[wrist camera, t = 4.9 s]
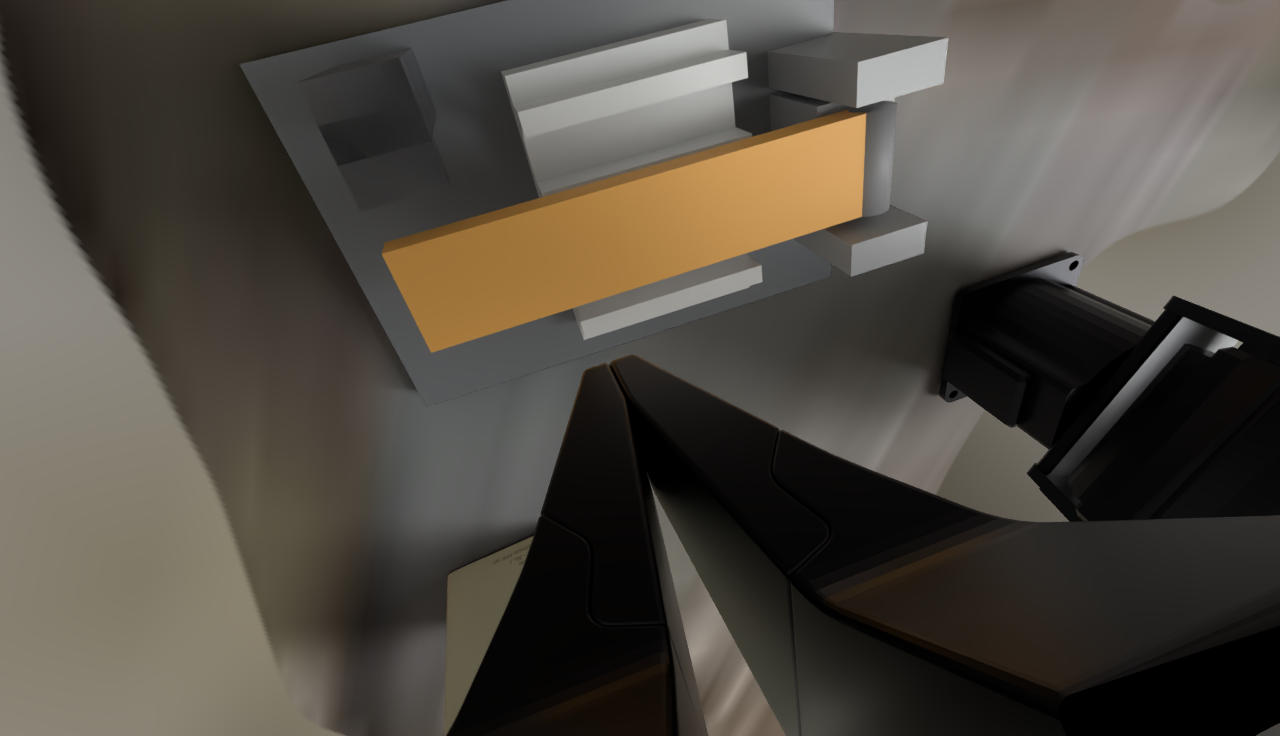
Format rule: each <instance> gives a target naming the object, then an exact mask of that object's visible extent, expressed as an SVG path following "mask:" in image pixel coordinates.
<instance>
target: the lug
mask: <svg viewBox="0 0 1280 736" xmlns="http://www.w3.org/2000/svg"><path fill="white" fill-rule="evenodd" d="M296 84H297V86H298V88H299V90H300V92H301V94H302V96H303V98H304V100H305V102H306V104H307V106H308V108H309V110H310V112H311V114H312V116H313V118H314V120H315V122H316V124H317V126H318V128H319V130H320V132H321V134H322V136H323V138H324V140H325V142H326V144H327V146H328V148H329V150H330V152H331V154H332V156H333V158H334V160H335V162H336V164H337V166H338V168H339V170H340V172H341V174H342V176H343V178H344V180H345V182H346V184H347V186H348V188H349V190H350V192H351V194H352V196H353V198H354V200H355V202H356V204H357V206H358V208H359V210H360V212H362V211H366V210H369V209H373V208H377V207H380V206H384V205H388V204H391V203H395V202H398V201H402V200H406V199H409V198H413V197H416V196H420V195H424V194H427V193H431V192H435V191H438V190H442V189H445V188H449V187H450V178H449V175H448V173H447V170H446V168H445V165H444V162H443V160H442V157H441V155H440V152H439V150H438V147H437V144H436V142H435V139H434V137H433V132H434V127H435V121H436V116H437V113H436V110H435V108H434V105H433V102H432V100H431V97H430V95H429V92H428V89H427V87H426V84H425V81H424V79H423V76H422V73H421V71H420V68H419V66H418V63H417V60H416V58H415V55H414V52H413V50H412V48H409V49H404V50H400V51H396V52H392V53H388V54H384V55H380V56H376V57H372V58H367V59H363V60H359V61H355V62H351V63H347V64H343V65H339V66H335V67H332V68H329V69H327V70H325V71H322V72H320V73H318V74H315V75H313V76H311V77H308V78H306V79H304V80H301V81H299V82H297V83H296Z"/></svg>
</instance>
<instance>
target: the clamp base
mask: <svg viewBox="0 0 1280 736" xmlns="http://www.w3.org/2000/svg"><path fill="white" fill-rule="evenodd" d="M833 14H834V0H507V1H503V2H498V3H494V4H490V5H486V6H482V7H477V8H473V9H469V10H465V11H461V12H456V13H452V14H448V15H444V16H440V17H436V18H431V19H427V20H423V21H419V22H415V23H410V24H406V25H402V26H398V27H394V28H389V29H385V30H381V31H377V32H373V33H368V34H364V35H360V36H356V37H352V38H347V39H343V40H339V41H335V42H331V43H326V44H322V45H318V46H314V47H310V48H306V49H301V50H297V51H293V52H289V53H285V54H280V55H276V56H272V57H268V58H264V59H259V60H255V61H251V62H247V63H243V64H239V65H240V67H241V68H242V70H243V72H244V74H245V76H246V78H247V79H248V81H249V83H250V85H251V87H252V89H253V90H254V92H255V94H256V96H257V98H258V100H259V101H260V103H261V105H262V107H263V109H264V111H265V112H266V114H267V116H268V118H269V120H270V122H271V123H272V125H273V127H274V129H275V131H276V133H277V134H278V136H279V138H280V140H281V142H282V144H283V145H284V147H285V149H286V151H287V153H288V155H289V156H290V158H291V160H292V162H293V164H294V166H295V167H296V169H297V171H298V173H299V175H300V177H301V178H302V180H303V182H304V184H305V186H306V187H307V189H308V191H309V193H310V195H311V197H312V198H313V200H314V202H315V204H316V206H317V208H318V209H319V211H320V213H321V215H322V217H323V219H324V220H325V222H326V224H327V226H328V228H329V230H330V231H331V233H332V235H333V237H334V239H335V241H336V242H337V244H338V246H339V248H340V250H341V252H342V253H343V255H344V257H345V259H346V261H347V263H348V264H349V266H350V268H351V270H352V272H353V274H354V275H355V277H356V279H357V281H358V283H359V285H360V286H361V288H362V290H363V292H364V294H365V295H366V297H367V299H368V301H369V303H370V305H371V306H372V308H373V310H374V312H375V314H376V316H377V317H378V319H379V321H380V323H381V325H382V327H383V328H384V330H385V332H386V334H387V336H388V338H389V339H390V341H391V343H392V345H393V347H394V349H395V350H396V352H397V354H398V356H399V358H400V360H401V361H402V363H403V365H404V367H405V369H406V371H407V372H408V374H409V376H410V378H411V380H412V382H413V383H414V385H415V387H416V389H417V391H418V393H419V394H420V396H421V398H422V400H423V402H424V404H425V405H426V407H428V406H432V405H435V404H438V403H441V402H444V401H447V400H450V399H453V398H456V397H460V396H463V395H466V394H469V393H472V392H475V391H478V390H481V389H484V388H487V387H491V386H494V385H497V384H500V383H503V382H506V381H509V380H512V379H515V378H518V377H522V376H525V375H528V374H531V373H534V372H537V371H540V370H543V369H546V368H550V367H553V366H556V365H559V364H562V363H565V362H568V361H571V360H574V359H577V358H581V357H584V356H587V355H590V354H593V353H596V352H599V351H602V350H605V349H608V348H612V347H615V346H618V345H621V344H624V343H627V342H630V341H633V340H636V339H639V338H643V337H646V336H649V335H652V334H655V333H658V332H661V331H664V330H667V329H671V328H674V327H677V326H680V325H683V324H686V323H689V322H692V321H695V320H698V319H702V318H705V317H708V316H711V315H714V314H717V313H720V312H723V311H726V310H729V309H733V308H736V307H739V306H742V305H745V304H748V303H751V302H754V301H757V300H760V299H764V298H767V297H770V296H773V295H776V294H779V293H782V292H785V291H788V290H792V289H795V288H798V287H801V286H804V285H807V284H810V283H813V282H816V281H819V280H823V279H826V278H829V277H831V264H832V265H834V266H835V267H837V268H838V269H840V270H841V271H843V272H844V273H846V274H847V275H849V276H850V277H852V276H855V275H859V274H862V273H865V272H868V271H871V270H874V269H877V268H880V267H883V266H886V265H889V264H893V263H896V262H899V261H902V260H905V259H908V258H911V257H914V256H917V255H920V254H923V253H924V247H925V238H926V230H927V221H926V220H923V219H921V218H919V217H916V216H914V215H912V214H910V213H907V212H905V211H903V210H900V209H898V208H896V207H894V206H891V205H890V206H889V210H888V211H886V212H885V213H882V214H880V215H876V216H869V217H859V218H856V219H853V220H850V221H847V222H844V223H840V224H837V225H834V226H831V227H828V228H825V229H821V230H818V231H815V232H812V233H809V234H806V235H802V236H799V237H796V238H793V239H790V240H787V241H783V242H780V243H777V244H774V245H771V246H768V247H765V248H761V249H758V250H755V251H752V252H749V253H746V254H742V255H739V256H736V257H733V258H730V259H727V260H723V261H720V262H717V263H714V264H711V265H708V266H704V267H701V268H698V269H695V270H692V271H689V272H685V273H682V274H679V275H676V276H673V277H670V278H666V279H663V280H660V281H657V282H654V283H651V284H647V285H644V286H641V287H638V288H635V289H632V290H629V291H625V292H622V293H619V294H616V295H613V296H610V297H606V298H603V299H600V300H597V301H594V302H591V303H587V304H584V305H581V306H578V307H575V308H572V309H568V310H565V311H562V312H559V313H556V314H553V315H549V316H546V317H543V318H540V319H537V320H534V321H530V322H527V323H524V324H521V325H518V326H515V327H511V328H508V329H505V330H502V331H499V332H496V333H492V334H489V335H486V336H483V337H480V338H477V339H474V340H470V341H467V342H464V343H461V344H458V345H455V346H451V347H448V348H445V349H442V350H439V351H436V352H432V353H431V351H430V349H429V347H428V346H427V344H426V342H425V340H424V338H423V336H422V334H421V332H420V330H419V328H418V326H417V324H416V322H415V320H414V318H413V316H412V314H411V312H410V310H409V308H408V306H407V304H406V302H405V300H404V298H403V296H402V294H401V292H400V290H399V288H398V286H397V284H396V282H395V280H394V278H393V276H392V274H391V272H390V270H389V268H388V266H387V264H386V262H385V260H384V258H383V256H382V251H383V247H384V243H385V242H388V241H392V240H395V239H399V238H402V237H406V236H409V235H413V234H416V233H420V232H423V231H427V230H430V229H433V228H437V227H440V226H444V225H447V224H451V223H454V222H458V221H461V220H465V219H468V218H472V217H475V216H479V215H482V214H486V213H489V212H493V211H496V210H500V209H503V208H507V207H510V206H514V205H517V204H520V203H524V202H527V201H531V200H534V199H538V198H541V197H545V196H548V195H552V194H555V193H559V192H562V191H566V190H569V189H573V188H576V187H580V186H583V185H587V184H590V183H594V182H597V181H601V180H604V179H607V178H611V177H614V176H618V175H621V174H625V173H628V172H632V171H635V170H639V169H642V168H646V167H649V166H653V165H656V164H660V163H663V162H667V161H670V160H674V159H677V158H681V157H684V156H687V155H691V154H694V153H698V152H701V151H705V150H708V149H712V148H715V147H719V146H722V145H726V144H729V143H733V142H736V141H740V140H743V139H747V138H750V137H754V136H757V135H761V134H764V133H768V132H771V131H774V130H778V129H781V128H785V127H788V126H792V125H795V124H799V123H802V122H806V121H809V120H813V119H816V118H820V117H823V116H827V115H830V114H834V113H837V112H841V111H844V110H848V109H849V108H850V107H854V108H859V107H862V106H866V105H869V104H873V103H877V102H880V101H893V102H895V97H898V96H901V95H905V94H908V93H912V92H915V91H919V90H922V89H926V88H929V87H933V86H936V85H940V84H943V82H944V73H945V64H946V56H947V47H948V37H926V36H905V35H883V34H861V33H840V32H833ZM409 48H412V50H413V52H414V55H415V58H416V60H417V63H418V66H419V68H420V71H421V73H422V76H423V79H424V81H425V84H426V87H427V89H428V92H429V95H430V97H431V100H432V102H433V105H434V108H435V110H436V113H437V116H436V121H435V127H434V132H433V137H434V139H435V142H436V144H437V147H438V150H439V152H440V155H441V157H442V160H443V162H444V165H445V168H446V170H447V173H448V175H449V178H450V187H449V188H445V189H442V190H438V191H435V192H431V193H427V194H424V195H420V196H416V197H413V198H409V199H406V200H402V201H398V202H395V203H391V204H388V205H384V206H380V207H377V208H373V209H369V210H366V211H362V212H360V210H359V208H358V206H357V204H356V202H355V200H354V198H353V196H352V194H351V192H350V190H349V188H348V186H347V184H346V182H345V180H344V178H343V176H342V174H341V172H340V170H339V168H338V166H337V164H336V162H335V160H334V158H333V156H332V154H331V152H330V150H329V148H328V146H327V144H326V142H325V140H324V138H323V136H322V134H321V132H320V130H319V128H318V126H317V124H316V122H315V120H314V118H313V116H312V114H311V112H310V110H309V108H308V106H307V104H306V102H305V100H304V98H303V96H302V94H301V92H300V90H299V88H298V86H297V84H296V83H297V82H299V81H301V80H304V79H306V78H308V77H311V76H313V75H315V74H318V73H320V72H322V71H325V70H327V69H329V68H332V67H335V66H339V65H343V64H347V63H351V62H355V61H359V60H363V59H367V58H372V57H376V56H380V55H384V54H388V53H392V52H396V51H400V50H404V49H409Z"/></svg>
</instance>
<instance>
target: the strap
mask: <svg viewBox="0 0 1280 736" xmlns="http://www.w3.org/2000/svg"><path fill="white" fill-rule="evenodd" d="M896 109H897V103H896V102H893V101H880V102H877V103H873V104H869V105H866V106H862V107H859V108H854V107H850V108H849V109H848V110H844V111H841V112H837V113H834V114H830V115H827V116H823V117H820V118H816V119H813V120H809V121H806V122H802V123H799V124H795V125H792V126H788V127H785V128H781V129H778V130H774V131H771V132H768V133H764V134H761V135H757V136H754V137H750V138H747V139H743V140H740V141H736V142H733V143H729V144H726V145H722V146H719V147H715V148H712V149H708V150H705V151H701V152H698V153H694V154H691V155H687V156H684V157H681V158H677V159H674V160H670V161H667V162H663V163H660V164H656V165H653V166H649V167H646V168H642V169H639V170H635V171H632V172H628V173H625V174H621V175H618V176H614V177H611V178H607V179H604V180H601V181H597V182H594V183H590V184H587V185H583V186H580V187H576V188H573V189H569V190H566V191H562V192H559V193H555V194H552V195H548V196H545V197H541V198H538V199H534V200H531V201H527V202H524V203H520V204H517V205H514V206H510V207H507V208H503V209H500V210H496V211H493V212H489V213H486V214H482V215H479V216H475V217H472V218H468V219H465V220H461V221H458V222H454V223H451V224H447V225H444V226H440V227H437V228H433V229H430V230H427V231H423V232H420V233H416V234H413V235H409V236H406V237H402V238H399V239H395V240H392V241H388V242H385V243H384V247H383V251H382V256H383V258H384V260H385V262H386V264H387V266H388V268H389V270H390V272H391V274H392V276H393V278H394V280H395V282H396V284H397V286H398V288H399V290H400V292H401V294H402V296H403V298H404V300H405V302H406V304H407V306H408V308H409V310H410V312H411V314H412V316H413V318H414V320H415V322H416V324H417V326H418V328H419V330H420V332H421V334H422V336H423V338H424V340H425V342H426V344H427V346H428V347H429V349H430V351H431V353H432V352H436V351H439V350H442V349H445V348H448V347H451V346H455V345H458V344H461V343H464V342H467V341H470V340H474V339H477V338H480V337H483V336H486V335H489V334H492V333H496V332H499V331H502V330H505V329H508V328H511V327H515V326H518V325H521V324H524V323H527V322H530V321H534V320H537V319H540V318H543V317H546V316H549V315H553V314H556V313H559V312H562V311H565V310H568V309H572V308H575V307H578V306H581V305H584V304H587V303H591V302H594V301H597V300H600V299H603V298H606V297H610V296H613V295H616V294H619V293H622V292H625V291H629V290H632V289H635V288H638V287H641V286H644V285H647V284H651V283H654V282H657V281H660V280H663V279H666V278H670V277H673V276H676V275H679V274H682V273H685V272H689V271H692V270H695V269H698V268H701V267H704V266H708V265H711V264H714V263H717V262H720V261H723V260H727V259H730V258H733V257H736V256H739V255H742V254H746V253H749V252H752V251H755V250H758V249H761V248H765V247H768V246H771V245H774V244H777V243H780V242H783V241H787V240H790V239H793V238H796V237H799V236H802V235H806V234H809V233H812V232H815V231H818V230H821V229H825V228H828V227H831V226H834V225H837V224H840V223H844V222H847V221H850V220H853V219H856V218H859V217H869V216H876V215H880V214H882V213H885V212H886V211H888V210H889V206H890V192H891V179H892V165H893V151H894V137H895V123H896Z"/></svg>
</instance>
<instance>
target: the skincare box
mask: <svg viewBox="0 0 1280 736" xmlns="http://www.w3.org/2000/svg"><path fill="white" fill-rule="evenodd" d="M532 539H533V536H532V537H530V538H528V539H525V540H523V541H521V542H519V543H516V544H514V545H512V546H510V547H507V548H505V549H503V550H501V551H498V552H496V553H494V554H491V555H489V556H487V557H485V558H482V559H480V560H478V561H475V562H473V563H471V564H469V565H466V566H464V567H462V568H460V569H458V570H456V571H454V572H452V573H450V574H449V575H448V578H447V631H446V674H445V722H444V736H446V734H447V733H448V731H449V729H450V727H451V726H452V724H453V722H454V720H455V718H456V716H457V714H458V712H459V710H460V708H461V706H462V704H463V702H464V699H465V697H466V695H467V693H468V691H469V688H470V686H471V684H472V682H473V679H474V677H475V675H476V673H477V671H478V668H479V666H480V664H481V662H482V660H483V657H484V655H485V653H486V651H487V649H488V646H489V644H490V642H491V640H492V638H493V635H494V633H495V631H496V629H497V626H498V624H499V622H500V620H501V618H502V615H503V613H504V611H505V609H506V607H507V604H508V602H509V599H510V597H511V595H512V592H513V590H514V588H515V585H516V583H517V581H518V578H519V576H520V573H521V571H522V568H523V565H524V562H525V560H526V557H527V554H528V551H529V548H530V545H531V542H532Z"/></svg>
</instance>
